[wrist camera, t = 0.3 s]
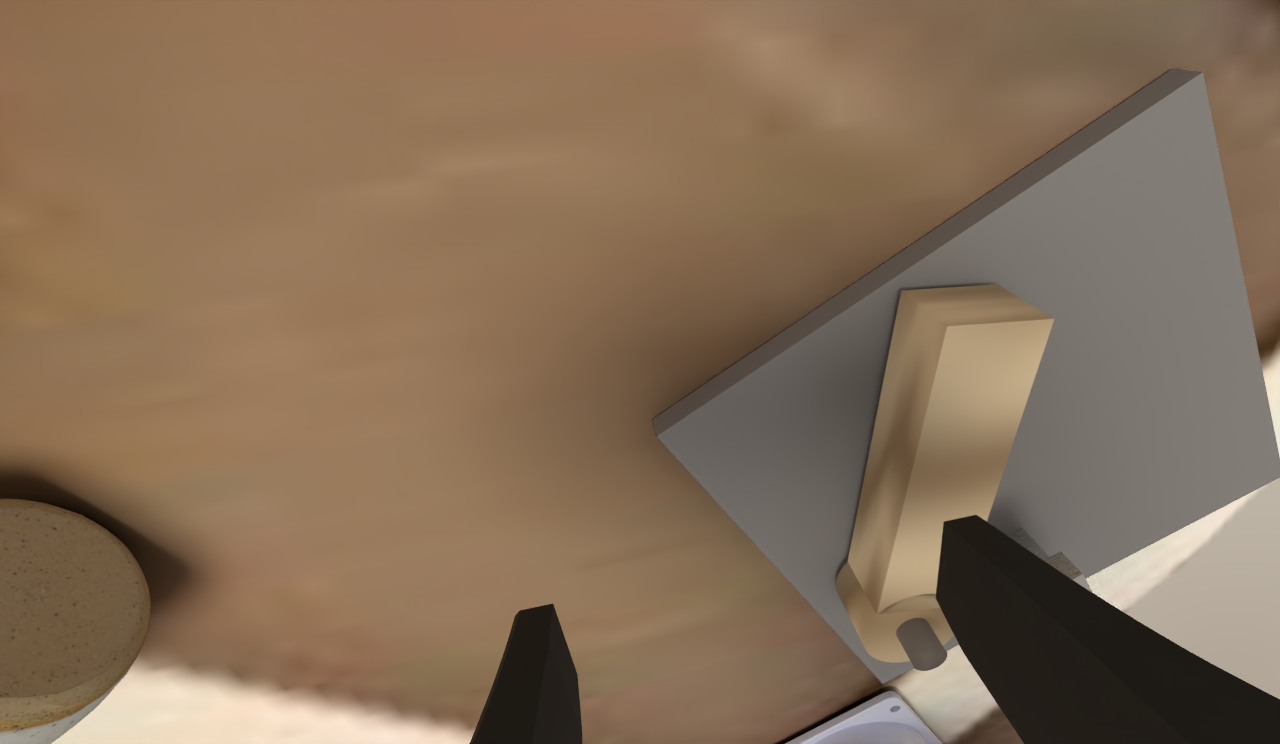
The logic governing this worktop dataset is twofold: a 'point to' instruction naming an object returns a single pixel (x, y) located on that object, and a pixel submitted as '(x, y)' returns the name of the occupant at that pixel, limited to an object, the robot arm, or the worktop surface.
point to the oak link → (935, 456)
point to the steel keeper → (1056, 560)
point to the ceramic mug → (63, 618)
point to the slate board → (1066, 377)
